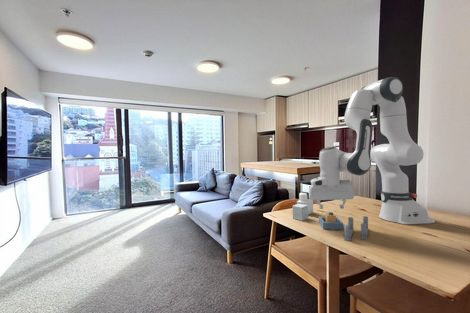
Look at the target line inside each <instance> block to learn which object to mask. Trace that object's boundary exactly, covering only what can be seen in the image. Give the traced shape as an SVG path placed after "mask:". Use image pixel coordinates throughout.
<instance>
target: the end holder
mask: <svg viewBox="0 0 470 313" xmlns="http://www.w3.org/2000/svg"><path fill="white" fill-rule="evenodd" d="M318 223H319V225H320V227H321V228H322V230H338V231H340V230H341V231H343V230H344V222H343V221H342V220H341V219H340V218H339V217H338V216H336V222H325V216H319V217H318Z"/></svg>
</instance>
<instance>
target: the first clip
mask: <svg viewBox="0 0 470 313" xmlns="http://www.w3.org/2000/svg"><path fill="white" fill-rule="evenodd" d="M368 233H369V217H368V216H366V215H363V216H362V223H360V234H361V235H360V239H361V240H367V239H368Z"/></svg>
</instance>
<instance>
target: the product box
mask: <svg viewBox="0 0 470 313" xmlns="http://www.w3.org/2000/svg"><path fill="white" fill-rule="evenodd" d="M292 219H294V220H299V221H301V222H303V221H305V220H308V219H309V215H308V205H303V204H297V203H296V204H293V205H292Z"/></svg>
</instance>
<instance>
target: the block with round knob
mask: <svg viewBox="0 0 470 313" xmlns="http://www.w3.org/2000/svg"><path fill="white" fill-rule="evenodd" d="M324 217H325V222H336V217H337V215H336V214H335V213H334V212H332V211H327V212H325V213H324Z"/></svg>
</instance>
